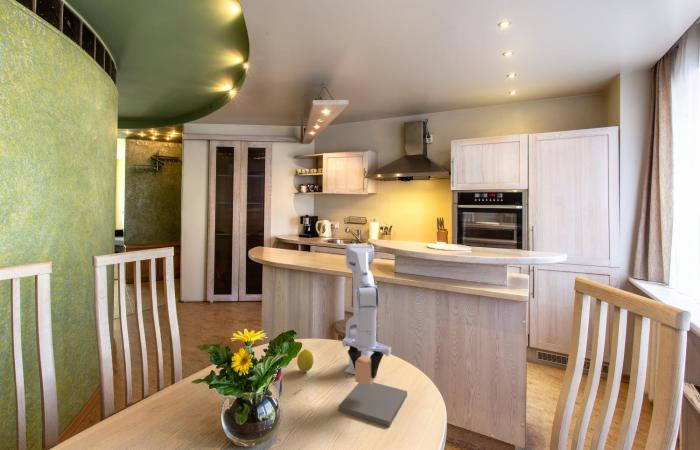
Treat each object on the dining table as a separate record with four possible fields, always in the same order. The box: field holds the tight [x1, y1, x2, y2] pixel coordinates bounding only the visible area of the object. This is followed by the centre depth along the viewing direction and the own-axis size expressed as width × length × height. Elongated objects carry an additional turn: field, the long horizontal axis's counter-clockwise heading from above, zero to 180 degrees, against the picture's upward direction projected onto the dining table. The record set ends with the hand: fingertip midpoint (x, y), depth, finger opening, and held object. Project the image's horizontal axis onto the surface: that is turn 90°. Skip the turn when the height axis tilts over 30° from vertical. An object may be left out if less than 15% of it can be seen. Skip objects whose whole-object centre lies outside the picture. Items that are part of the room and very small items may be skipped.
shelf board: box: [338, 381, 408, 428], centre depth 96 cm, size 16×15×2 cm
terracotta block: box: [354, 355, 377, 386], centre depth 96 cm, size 5×5×6 cm
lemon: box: [296, 349, 314, 373], centre depth 113 cm, size 6×6×8 cm
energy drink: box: [272, 367, 283, 397], centre depth 99 cm, size 5×5×12 cm
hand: (365, 374), depth 96 cm, fingers closed on terracotta block, 5 cm apart
